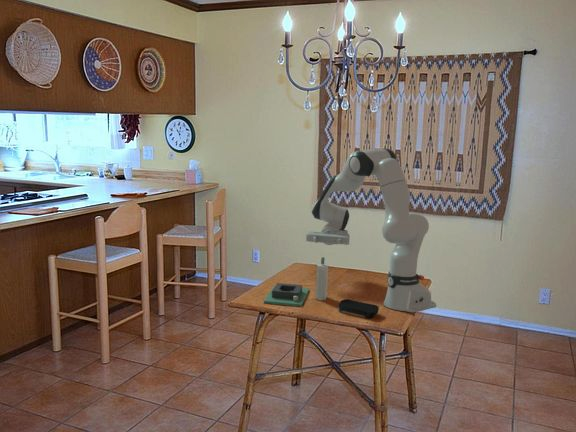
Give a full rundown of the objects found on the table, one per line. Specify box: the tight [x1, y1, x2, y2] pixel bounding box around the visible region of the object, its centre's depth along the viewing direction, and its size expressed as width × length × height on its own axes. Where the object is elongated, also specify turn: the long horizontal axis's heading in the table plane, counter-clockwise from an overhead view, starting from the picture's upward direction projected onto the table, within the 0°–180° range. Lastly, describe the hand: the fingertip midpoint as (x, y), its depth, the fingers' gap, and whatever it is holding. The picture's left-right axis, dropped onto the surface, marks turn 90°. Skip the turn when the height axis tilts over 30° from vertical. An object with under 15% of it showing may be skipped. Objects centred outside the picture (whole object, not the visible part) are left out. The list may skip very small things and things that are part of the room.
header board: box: [263, 282, 310, 307], centre depth 229 cm, size 22×16×4 cm
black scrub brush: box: [337, 298, 380, 320], centre depth 212 cm, size 16×8×4 cm, turn 57°
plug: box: [315, 256, 329, 301], centre depth 227 cm, size 5×4×18 cm
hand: (326, 241), depth 237 cm, fingers open, 8 cm apart
